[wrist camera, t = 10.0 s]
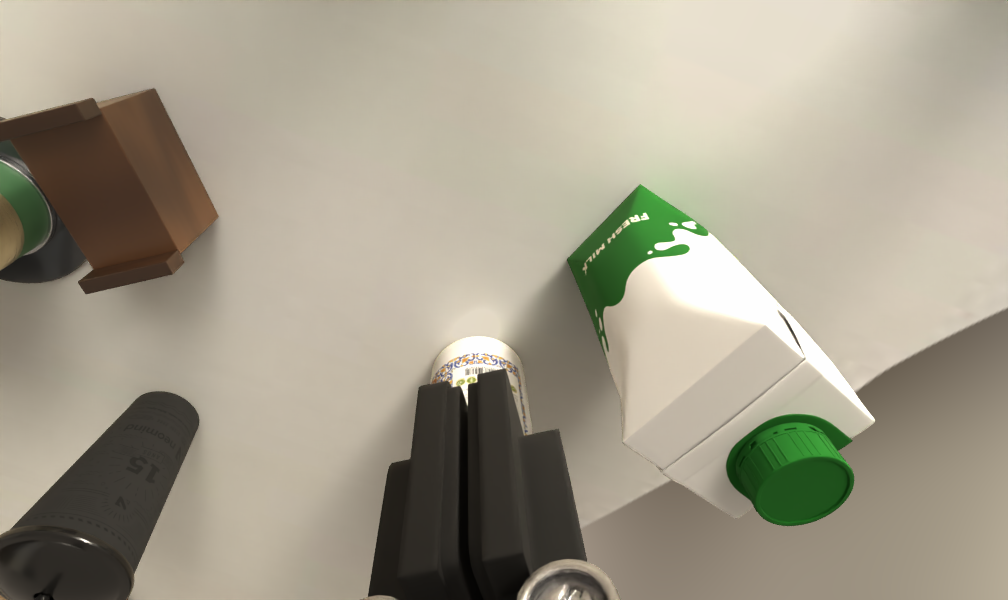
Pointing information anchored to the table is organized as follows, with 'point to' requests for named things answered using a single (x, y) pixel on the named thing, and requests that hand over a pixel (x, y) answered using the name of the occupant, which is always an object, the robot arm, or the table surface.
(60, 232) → the coaster
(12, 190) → the can
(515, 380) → the bath foam
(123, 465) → the drinking cup
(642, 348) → the milk carton
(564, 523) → the robot arm
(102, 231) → the rest
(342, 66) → the table surface
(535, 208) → the table surface
